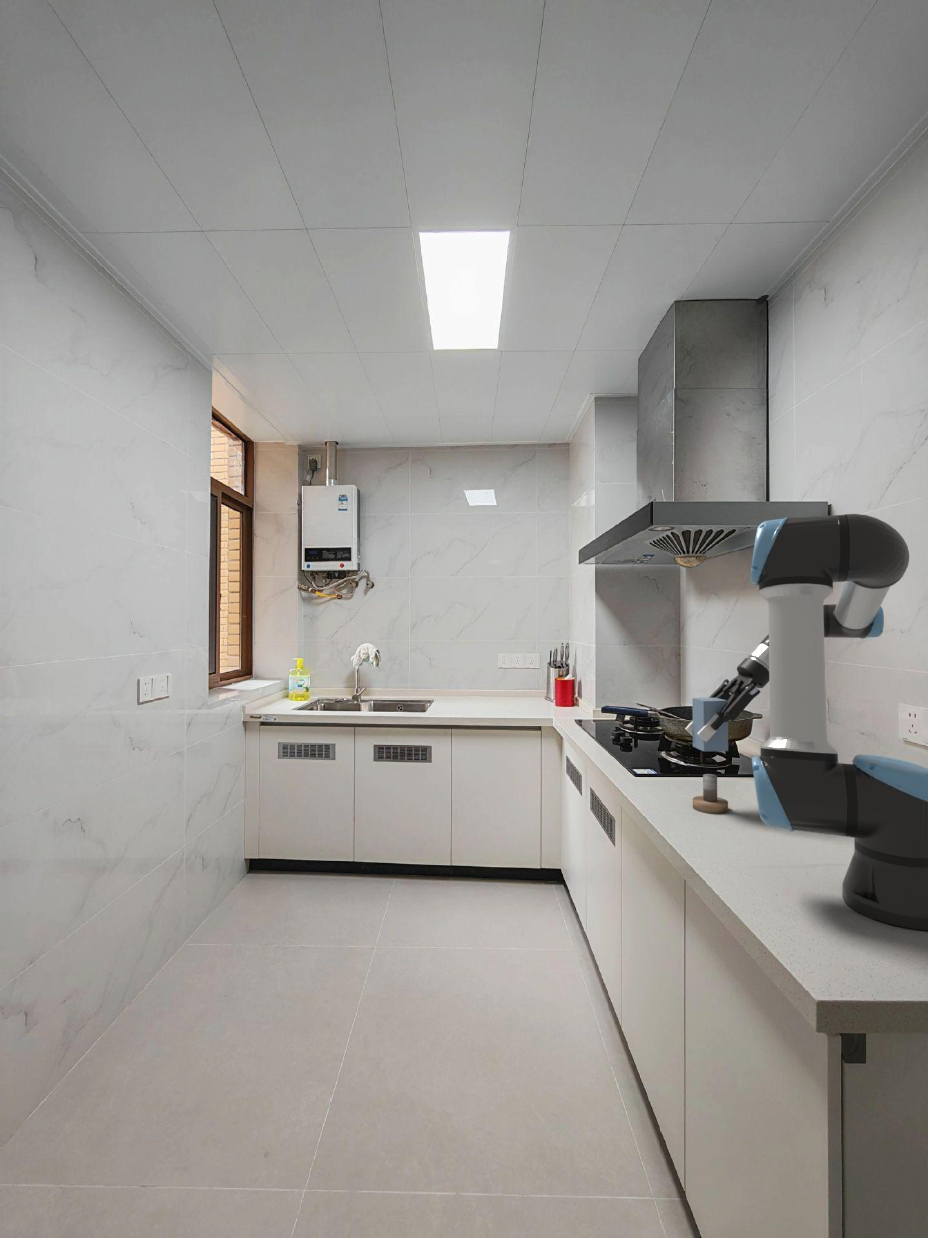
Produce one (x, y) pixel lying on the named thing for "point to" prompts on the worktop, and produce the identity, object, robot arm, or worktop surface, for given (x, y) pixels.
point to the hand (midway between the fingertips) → (695, 735)
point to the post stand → (710, 797)
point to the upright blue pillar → (701, 716)
